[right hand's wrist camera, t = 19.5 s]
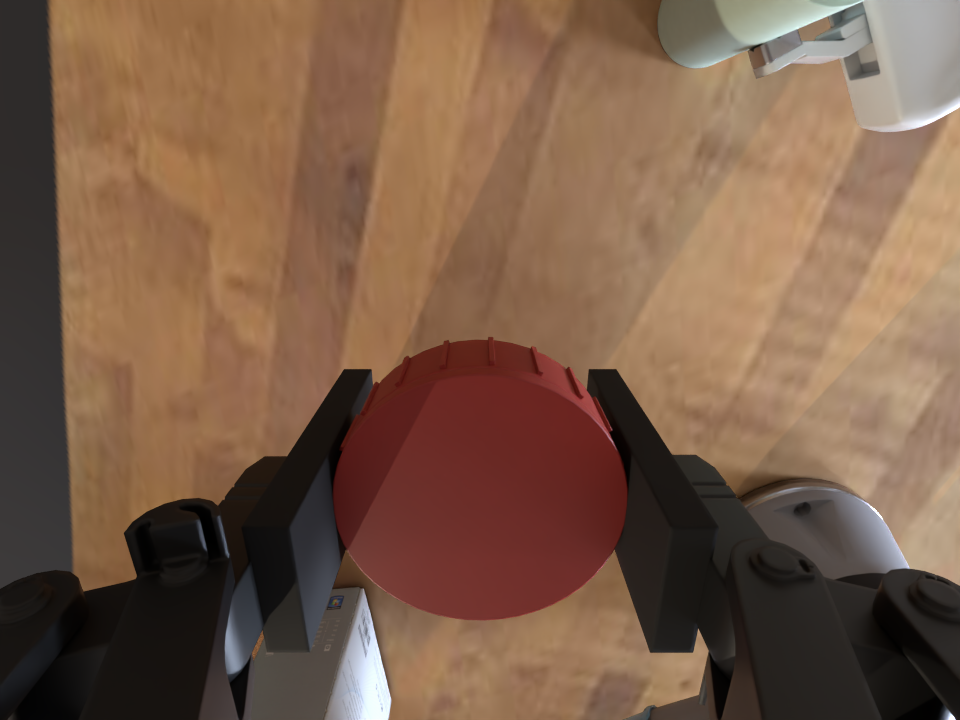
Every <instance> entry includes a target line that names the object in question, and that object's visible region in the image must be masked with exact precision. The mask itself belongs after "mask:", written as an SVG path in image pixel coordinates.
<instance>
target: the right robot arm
mask: <svg viewBox="0 0 960 720" xmlns="http://www.w3.org/2000/svg"><path fill="white" fill-rule="evenodd" d="M372 387H373V382H372V370H371V369H344V370H343V372H342V373H341V375H340V376H339V378H338V379H337V381H336V383H335V384H334V386H333V387H332V389H331V390H330V392H329V393H328V395H327V396H326V398H325V399H324V401H323V402H322V404H321V406H320V407H319V409H318V410H317V412H316V413H315V415H314V416H313V418H312V419H311V421H310V422H309V424H308V425H307V427H306V429H305V430H304V432H303V433H302V435H301V436H300V438H299V439H298V441H297V442H296V444H295V445H294V447H293V448H292V450H291V452H290V453H289V455H288V456H265V457H263V458H262V459H260V460H259V461H257V462H256V463H255V464H253V465H252V466H250V467H249V468H247V469H246V470H245V471H244V472H243V474H242V475H241V476H240V478H239V479H238V480H237V482H236V483H235V484H234V485H235V486H234V487H232V488H231V490H230V491H229V492H228V494H227V495H226V496H225V500H222V501H221V503H220V504H219V505H218V506H217V505H216V504H215V503H214V502H212V501H210V500H205V499H200V498H193V499H181V500H177V501H174V502H170V503H166V504H163V505H161V506H159V507H156V508H154V509H152V510H150V511H148V512H146V513H145V514H143V515H142V516H140V517H139V518H138V519H136V520H135V521H133V522H132V523H131V525H130V526H129V527H128V529H127V530H126V531H125V532H124V535H125V539H126V542H127V545H128V548H129V552H130V555H131V558H132V561H133V564H134V568H135V571H136V574H137V578H136V579H135V580H131V581H128V582H124V583H120V584H115V585H111V586H106V587H102V588H98V589H93V590H89V591H84V592H83V589H82V587H81V584H80V581H79V578H78V577H76V576H75V575H74V574H72V573H71V572H67V571H58V570H54V571H48V572H42V573H36V574H33V575H30V576H27V577H25V578H21V579H19V580H16V581H14V582H12V583H10V584H9V585H7V586H5V587H3V588H1V589H0V720H251V711H252V701H253V691H254V681H255V668H254V661H253V657H252V651H253V649H254V647H255V645H256V642H257V640H258V638H259V636H260V634H261V632H262V630H263V635H264V639H265V644H266V649H267V653H310V651H311V648H312V645H313V643H314V640H315V637H316V634H317V631H318V628H319V625H320V622H321V619H322V617H323V614H324V611H325V608H326V605H327V602H328V599H329V596H330V593H331V591H332V588H333V585H334V582H335V579H336V576H337V573H338V570H339V567H340V565H341V562H342V559H343V556H344V553H345V550H346V548H345V546H344V544H343V542H342V539H341V537H340V535H339V532H338V530H337V526H336V520H335V513H334V505H333V496H332V491H333V480H334V476H335V471H336V467H337V464H338V461H339V459H340V456H341V454H342V451H340V447H341V445H342V443H343V441H344V439H345V437H346V435H347V432H348V430H349V428H350V426H351V424H352V422H353V420H354V418H355V416H356V414H357V415H360V412H361V410H362V408H363V406H364V404H365V402H366V400H367V398H368V395H369V393H370V391H371V389H372ZM587 391H588V393H589V394H590V396H591V397H592V398H593V397H596V398H597V400H598V402H599V404H600V406H601V408H602V410H603V412H604V414H605V416H606V418H607V420H608V422H609V424H610V426H611V429H612V431H610V432H609V433H610V435H611V438H612V440H613V442H614V444H615V446H616V448H617V450H618V452H619V454H620V456H621V459H622V461H623V464H624V469H625V472H626V477H627V484H628V499H627V508H626V516H625V523H624V527H623V531H622V534H621V537H620V539H619V541H618V543H617V545H616V547H615V552H616V555H617V558H618V561H619V564H620V567H621V569H622V572H623V575H624V578H625V581H626V584H627V587H628V590H629V593H630V595H631V598H632V601H633V604H634V607H635V610H636V613H637V616H638V619H639V621H640V624H641V627H642V630H643V633H644V636H645V639H646V642H647V645H648V647H649V650H650V653H693V651H694V646H695V641H696V636H697V631H698V628H699V631H700V633H701V635H702V637H703V639H704V641H705V643H706V645H707V648H708V650H709V652H708V657H707V661H706V666H705V670H704V675H703V679H702V684H701V688H700V693H699V695H697V696H694V697H690V698H687V699H684V700H680V701H677V702H674V703H671V704H667V705H664V706H661V707H656V706H655V705H652V706H648V707H646V708H645V709H644V711H643V712H642V713H639V714H637V715H634V716H631V717H629V718H626V719H624V720H960V586H959V585H957V584H955V583H953V582H951V581H950V580H948V579H945V578H943V577H940V576H938V575H935V574H932V573H928V572H926V571H920V570H914V569H910V568H909V566H908V564H907V562H906V560H905V558H904V556H903V555H902V553H901V551H900V549H899V547H898V545H897V543H896V541H895V539H894V538H893V536H892V534H891V532H890V530H889V528H888V527H887V525H886V523H885V522H884V521H883V519H882V518H881V516H880V515H879V514H878V513H877V512H876V510H875V509H873V508H872V507H871V506H870V505H869V504H868V503H867V502H866V501H864V500H863V499H862V498H861V497H860V496H859V495H858V494H856V493H855V492H853V491H852V490H850V489H848V488H847V487H845V486H842V485H840V484H837V483H834V482H830V481H826V480H820V479H793V480H786V481H781V482H777V483H773V484H770V485H767V486H764V487H762V488H759V489H757V490H755V491H753V492H751V493H749V494H747V495H745V496H743V497H742V498H740V499H738V498H736V495H735V494H734V492H733V491H732V490H731V488H730V487H729V486H727V485H726V482H725V480H724V479H723V478H722V477H721V475H720V474H719V473H718V471H717V470H716V469H715V468H714V467H713V466H711V465H710V464H709V463H707V462H706V461H704V460H703V459H701V458H700V457H698V456H697V455H672V454H671V453H670V451H669V449H668V448H667V446H666V445H665V443H664V442H663V440H662V439H661V437H660V436H659V434H658V433H657V431H656V430H655V428H654V426H653V425H652V423H651V422H650V420H649V419H648V417H647V416H646V414H645V413H644V411H643V410H642V408H641V407H640V405H639V404H638V402H637V400H636V399H635V397H634V396H633V394H632V393H631V391H630V390H629V388H628V387H627V385H626V384H625V382H624V381H623V379H622V377H621V376H620V374H619V373H618V371H617V370H616V369H589V373H588V385H587Z"/></svg>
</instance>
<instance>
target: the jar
mask: <svg viewBox="0 0 960 720" xmlns="http://www.w3.org/2000/svg"><path fill="white" fill-rule="evenodd" d="M862 1H864V0H662V2H661V5H660V8H659V13H658V22H657V24H658V35H659V39H660V42H661V44H662V47H663V49H664V50H665V52H666V53H667V54H668V56H669V57H670V58H671V59H672V60H673V61H675V62H676V63H678V64H680V65H682V66H685V67H688V68H703V67H707V66H710V65H713V64H715V63H718V62H720V61H723V60H725V59H727V58H730V57H732V56H734V55H737V54H739V53H741V52H744V51H746V50H749V49H751V48H753V47H756V46H758V45H760V44H763V43H765V42H767V41H770V40H772V39H775V38H777V37H779V36H782V35H784V34H787V33H789V32H791V31H794V30H796V29H798V28H801V27H803V26H806V25H808V24H810V23H813V22H815V21H817V20H820V19H822V18H825V17H827V16H829V15H832V14H834V13H836V12H839V11H841V10H844V9H846V8H848V7H851V6H853V5H855V4H858V3H860V2H862Z"/></svg>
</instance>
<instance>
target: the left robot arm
mask: <svg viewBox="0 0 960 720" xmlns="http://www.w3.org/2000/svg"><path fill="white" fill-rule="evenodd" d="M828 18H829V22H830V26H831V28H830V29H828V30H827V31H825V32H823V33H822V34H820V35H818V36H817V37H816V39H815V41H801V38H800V35H799V32H798V29H796V30H794V31H791V32H789V33H787V34H784V35H782V36H779V37H777V38H775V39H772V40H770V41H767V42H765V43H763V44H760V45H758V46H756V47H753V48H751V49H750V50H748V54H749V57H750V61H751V64H752V67H753V71H754V74H755V77H756V78H760V77H763V76H766V75H769V74H771V73H773V72H775V71H777V70H779V69H781V68H783V67H784V66H786V65H788V64H790V63H798V64H823V63H826V62H830V61H833V60H837V59H840V62H841V66H842V69H843V73H844V77H845V80H846V84H847V88H848V91H849V95H850V99H851V102H852V106H853V110H854V114H855V118H856V121H857V123H858V125H859V126H860V127H862V128H865V129H869V130H874V131H880V132H895V131H903V130H909V129H914V128H918V127H921V126H924V125H927V124H929V123H931V122H933V121H935V120H937V119H939V118H941V117H943V116H945V115H947V114H948V113H950V112H952V111H954V110H956V109H957V108H959V107H960V0H864V1H862V2H860V3H858V4H855V5H853V6H851V7H848V8H846V9H844V10H841V11H839V12H836V13H834V14H832V15H829V16H828Z"/></svg>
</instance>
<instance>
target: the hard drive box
mask: <svg viewBox="0 0 960 720" xmlns="http://www.w3.org/2000/svg"><path fill="white" fill-rule="evenodd" d="M254 668H255V681H254V691H253V701H252V711H251V720H388V719H389V712H390V706H391V697H390V693H389V690H388V686H387V680H386V676H385V672H384V669H383V665H382V661H381V656H380V652H379V648H378V644H377V640H376V636H375V631H374V628H373V622H372V618H371V614H370V610H369V607H368V603H367V599H366V595H365V591H364V588H362V589H360V587H353V588H341V589H332V591H331V593H330V596H329V599H328V602H327V605H326V608H325V611H324V614H323V617H322V619H321V622H320V625H319V628H318V631H317V634H316V637H315V640H314V643H313V645H312V648H311V651H310V653H267V649H266V644H265V639H263V641H262V644H261V646H260V648H259V650H258V652H257V655H256V657H255V659H254Z"/></svg>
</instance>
